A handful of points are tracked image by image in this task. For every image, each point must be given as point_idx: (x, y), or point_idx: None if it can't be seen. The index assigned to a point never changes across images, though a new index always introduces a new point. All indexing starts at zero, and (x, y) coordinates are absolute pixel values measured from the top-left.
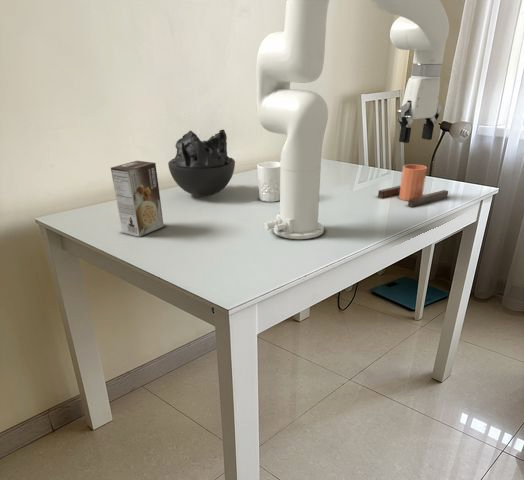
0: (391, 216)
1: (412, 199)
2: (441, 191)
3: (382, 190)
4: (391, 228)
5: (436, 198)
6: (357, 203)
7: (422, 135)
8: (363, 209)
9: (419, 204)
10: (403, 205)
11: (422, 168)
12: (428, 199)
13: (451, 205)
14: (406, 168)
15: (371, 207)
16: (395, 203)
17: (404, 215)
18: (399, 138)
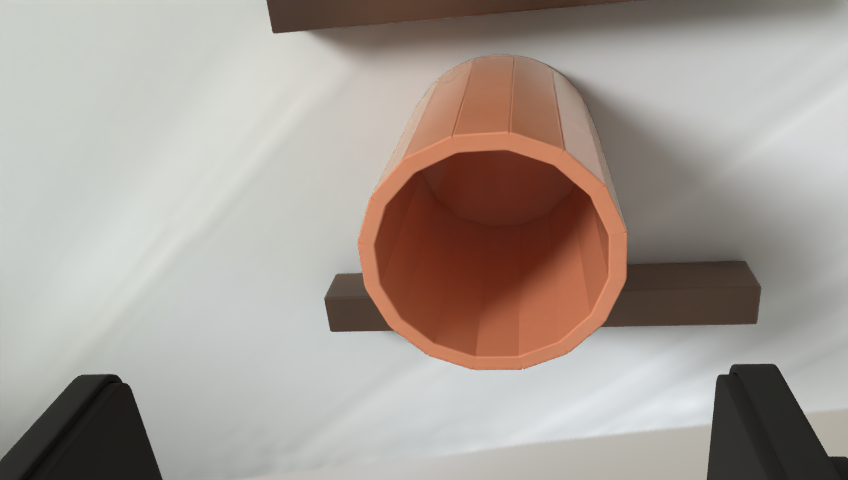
0: (117, 351)
1: (336, 320)
2: (698, 303)
3: (292, 5)
4: None
5: None
6: (40, 28)
7: (734, 411)
8: (20, 166)
9: None
10: (319, 248)
11: (606, 261)
12: None
13: (592, 411)
14: (359, 254)
15: (92, 162)
16: (300, 186)
17: (195, 378)
18: (58, 403)
